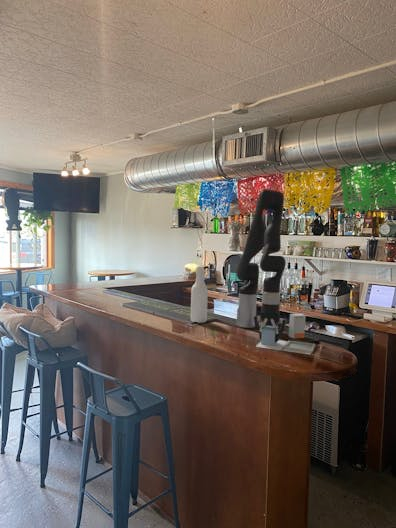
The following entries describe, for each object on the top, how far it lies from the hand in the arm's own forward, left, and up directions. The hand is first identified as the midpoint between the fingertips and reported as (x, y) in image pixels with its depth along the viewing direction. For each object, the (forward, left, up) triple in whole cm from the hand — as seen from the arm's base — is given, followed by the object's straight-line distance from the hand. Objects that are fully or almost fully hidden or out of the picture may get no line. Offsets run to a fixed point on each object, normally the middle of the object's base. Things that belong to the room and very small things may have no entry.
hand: (268, 340), depth 170 cm
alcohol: (-45, +30, -3) cm, 54 cm away
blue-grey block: (0, 0, -1) cm, 1 cm away
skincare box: (+9, +18, -3) cm, 20 cm away
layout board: (+7, 0, -3) cm, 7 cm away
